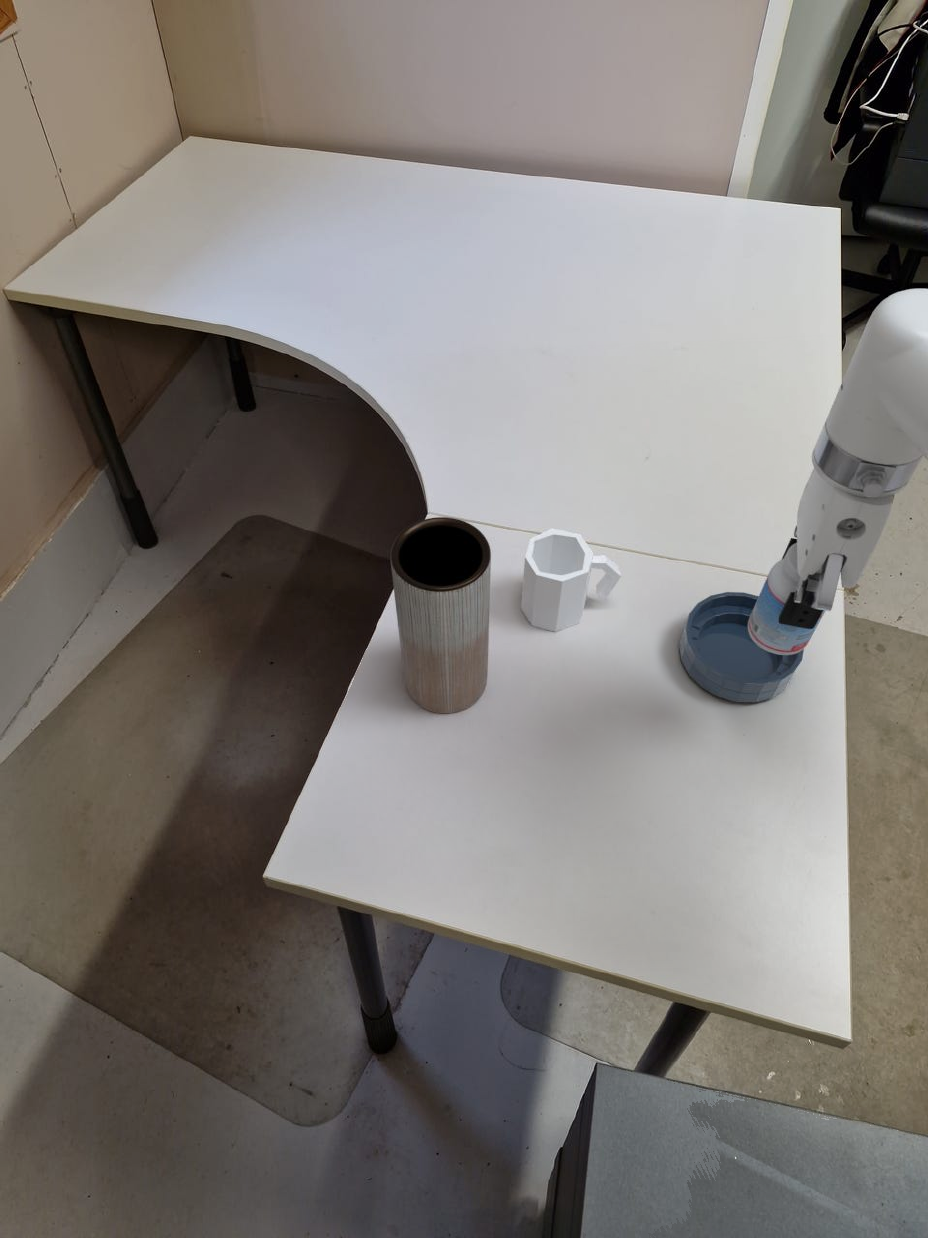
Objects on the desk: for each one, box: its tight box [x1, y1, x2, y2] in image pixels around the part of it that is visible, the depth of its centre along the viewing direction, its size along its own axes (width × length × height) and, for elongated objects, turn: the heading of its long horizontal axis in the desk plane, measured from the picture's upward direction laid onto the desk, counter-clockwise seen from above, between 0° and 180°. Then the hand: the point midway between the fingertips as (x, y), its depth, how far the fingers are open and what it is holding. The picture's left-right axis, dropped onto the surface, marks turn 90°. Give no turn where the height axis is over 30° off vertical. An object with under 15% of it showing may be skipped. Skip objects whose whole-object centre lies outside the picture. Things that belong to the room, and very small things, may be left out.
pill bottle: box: [748, 543, 826, 655], centre depth 79 cm, size 6×6×11 cm
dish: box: [679, 591, 805, 703], centre depth 99 cm, size 14×14×4 cm
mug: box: [520, 527, 622, 633], centre depth 102 cm, size 12×9×10 cm
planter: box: [389, 516, 492, 714], centre depth 90 cm, size 10×10×23 cm
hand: (795, 595), depth 79 cm, fingers closed on pill bottle, 6 cm apart
